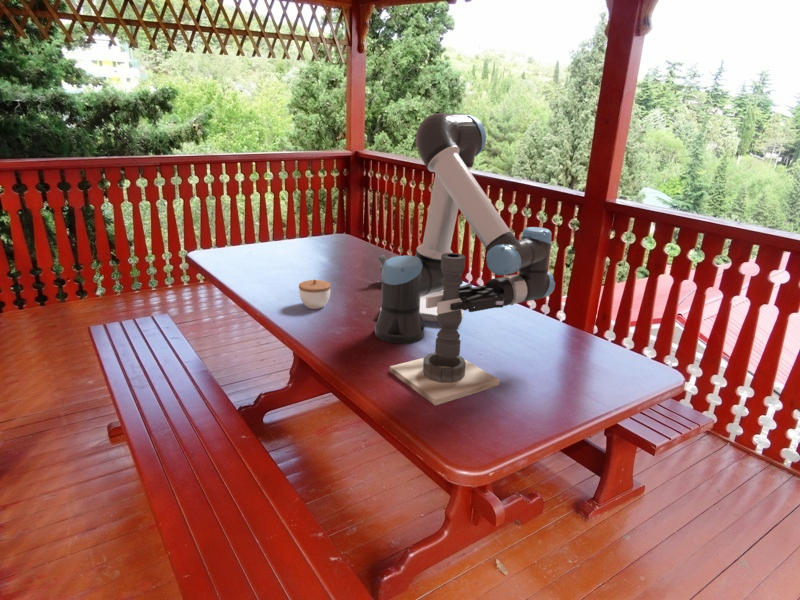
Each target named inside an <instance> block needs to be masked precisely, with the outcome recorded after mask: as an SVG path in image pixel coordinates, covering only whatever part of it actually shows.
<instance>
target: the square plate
mask: <svg viewBox="0 0 800 600" xmlns="http://www.w3.org/2000/svg"><path fill="white" fill-rule="evenodd" d="M440 294H443V290H442V291H439V292H434V293H431V294H428V295H425V296H422V297H420V314H421V317H422V321H428V322H435V323H438V320H437V316H438V313H437V307H432V308H426V297H429V296H434V295H440ZM380 311H381V307H380V309H379V312H380ZM465 311H466V310H462V309H461V313H462V320H463V319H464V315H465Z"/></svg>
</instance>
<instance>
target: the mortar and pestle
mask: <svg viewBox="0 0 800 600" xmlns="http://www.w3.org/2000/svg"><path fill="white" fill-rule="evenodd" d="M386 257H387V256H386V255H385V254H381V255H379V256H378V259H377V260H378V261H379V262H380V263H381V265H380V266H379V267H380V268H379V271H380V274H381V275H382V268H383V264H384V263H385V261H387V260H388V259H386ZM381 275H380V276H381Z"/></svg>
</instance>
